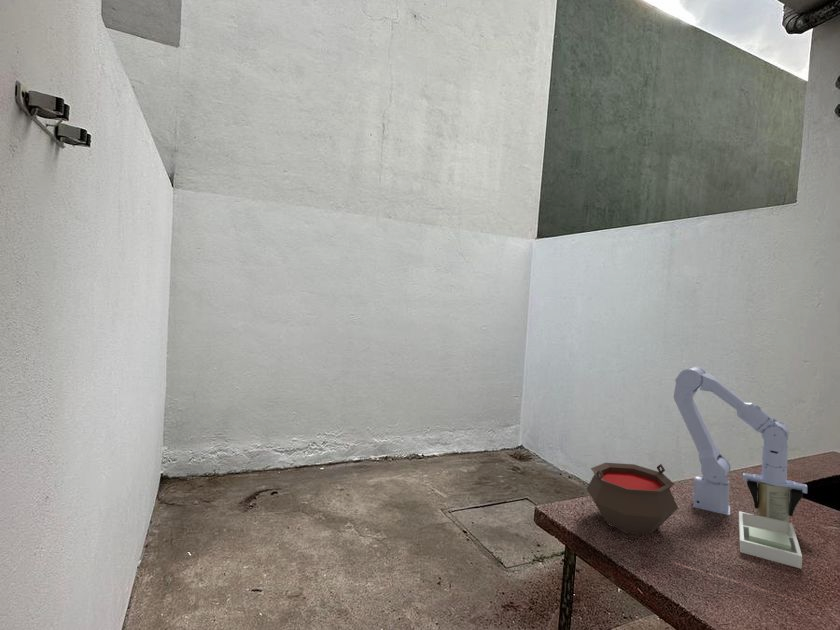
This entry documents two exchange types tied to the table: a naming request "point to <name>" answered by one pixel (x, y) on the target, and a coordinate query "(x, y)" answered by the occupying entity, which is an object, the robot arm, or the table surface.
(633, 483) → the brown cauldron
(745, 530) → the white rectangular tray
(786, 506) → the skincare box
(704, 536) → the table surface
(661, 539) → the table surface
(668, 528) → the table surface
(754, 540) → the pale green block
